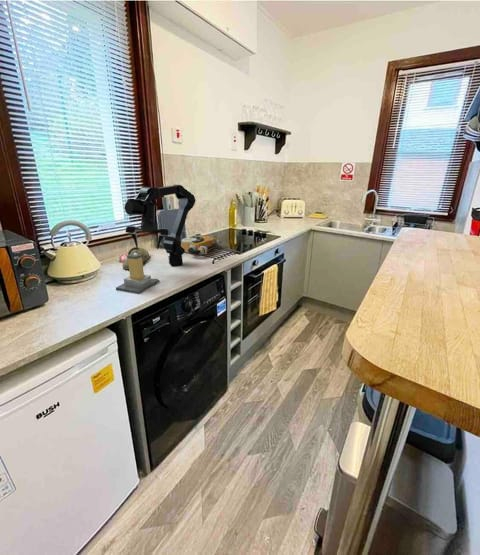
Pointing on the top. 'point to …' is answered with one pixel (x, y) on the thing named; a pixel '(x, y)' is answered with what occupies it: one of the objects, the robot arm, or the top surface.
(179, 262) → the robot arm
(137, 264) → the tan upright block
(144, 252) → the sandal
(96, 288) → the top surface
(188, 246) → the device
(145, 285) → the grey stepped base
